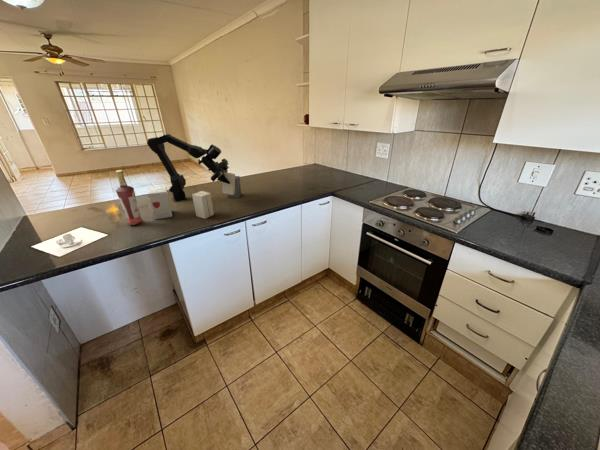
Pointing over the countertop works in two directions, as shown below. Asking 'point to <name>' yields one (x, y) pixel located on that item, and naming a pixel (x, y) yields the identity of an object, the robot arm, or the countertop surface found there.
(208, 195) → the white book
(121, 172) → the liquor
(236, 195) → the grey book
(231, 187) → the white book
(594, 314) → the countertop surface
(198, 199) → the white book
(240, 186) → the grey book
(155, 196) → the white product box
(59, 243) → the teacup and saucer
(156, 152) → the robot arm
